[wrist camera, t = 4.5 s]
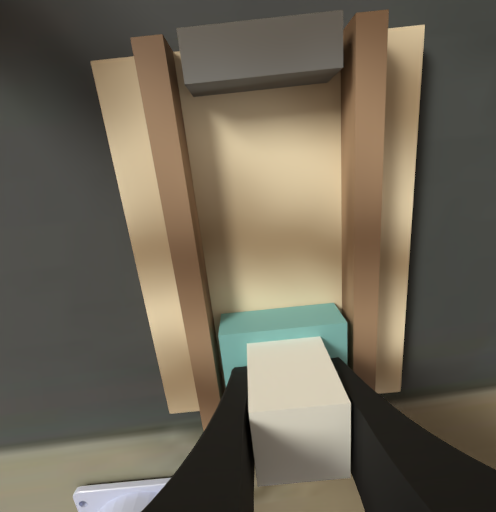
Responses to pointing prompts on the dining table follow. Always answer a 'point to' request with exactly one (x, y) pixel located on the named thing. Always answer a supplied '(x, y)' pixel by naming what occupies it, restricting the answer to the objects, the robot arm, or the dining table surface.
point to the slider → (292, 390)
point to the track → (268, 183)
